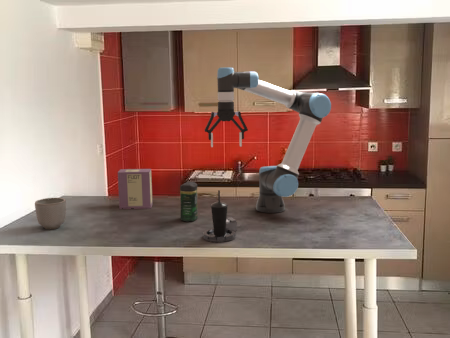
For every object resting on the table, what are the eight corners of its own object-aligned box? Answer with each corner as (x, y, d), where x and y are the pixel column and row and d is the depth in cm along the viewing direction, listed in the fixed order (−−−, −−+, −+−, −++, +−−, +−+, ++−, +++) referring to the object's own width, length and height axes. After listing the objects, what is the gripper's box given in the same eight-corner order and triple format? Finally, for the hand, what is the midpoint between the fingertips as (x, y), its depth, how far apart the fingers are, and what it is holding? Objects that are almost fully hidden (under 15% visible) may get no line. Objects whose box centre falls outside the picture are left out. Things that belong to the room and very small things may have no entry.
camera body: (231, 227, 246) (231, 217, 245) (236, 230, 240) (236, 220, 239) (215, 229, 243) (215, 219, 242) (220, 232, 237) (220, 222, 236)
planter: (39, 233, 239) (37, 205, 237) (34, 226, 251) (32, 199, 249) (70, 229, 245) (68, 202, 243) (64, 222, 257) (62, 196, 255)
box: (152, 204, 291) (151, 168, 287) (150, 208, 282) (149, 171, 278) (122, 204, 290) (120, 169, 287) (119, 209, 281) (117, 172, 278)
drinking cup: (210, 232, 233) (209, 188, 230) (227, 232, 234) (227, 188, 230) (211, 238, 226) (210, 192, 222) (229, 237, 226) (228, 192, 223)
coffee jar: (194, 222, 254) (193, 184, 250) (178, 221, 255) (177, 184, 252) (199, 217, 263) (199, 180, 260) (184, 216, 265) (183, 180, 261)
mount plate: (233, 231, 238) (233, 227, 237) (237, 241, 224) (237, 236, 223) (202, 233, 236) (202, 228, 236) (204, 242, 223) (204, 237, 222)
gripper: (251, 100, 249) (251, 144, 253) (198, 101, 246) (199, 146, 250) (253, 101, 241) (253, 146, 245) (199, 102, 239) (200, 148, 243)
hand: (226, 146), depth 248 cm, fingers open, 13 cm apart
